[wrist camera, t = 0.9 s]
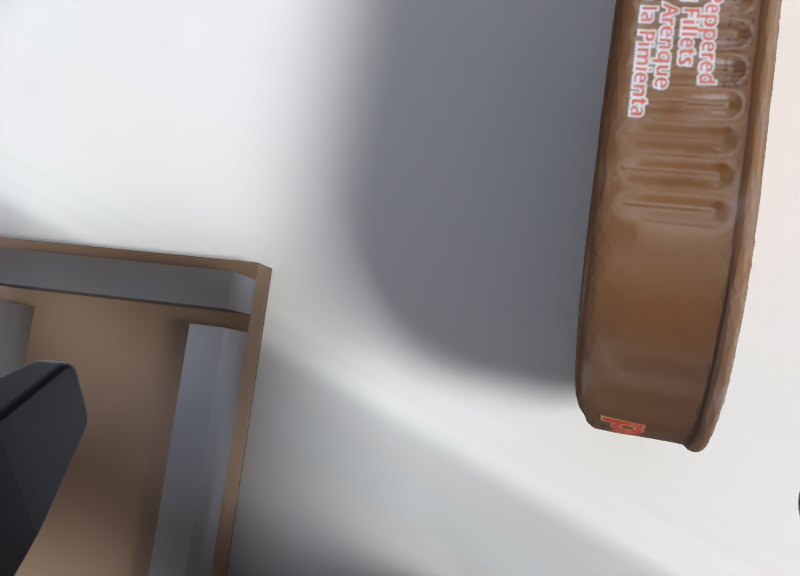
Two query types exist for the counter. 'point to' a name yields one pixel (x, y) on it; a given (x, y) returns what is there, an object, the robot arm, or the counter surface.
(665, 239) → the tin
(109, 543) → the track
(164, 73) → the counter surface
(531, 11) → the counter surface
